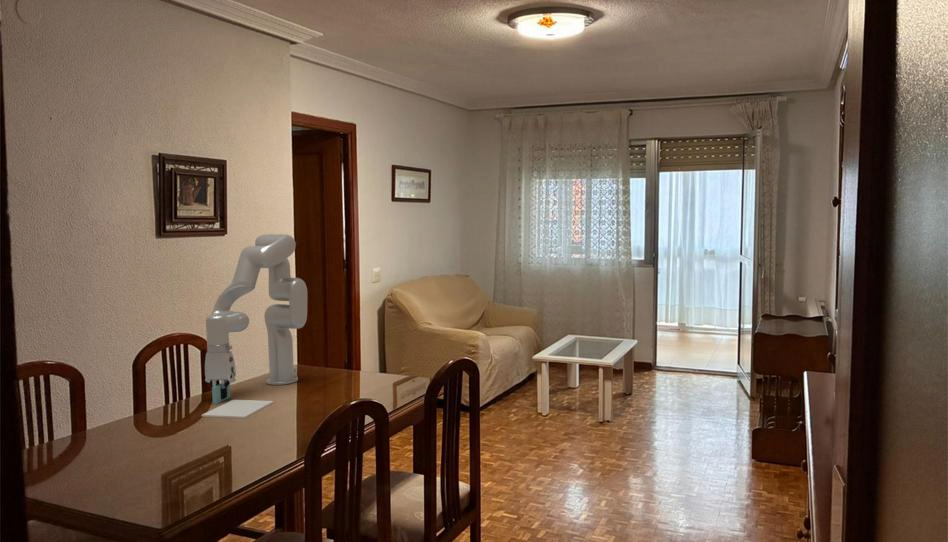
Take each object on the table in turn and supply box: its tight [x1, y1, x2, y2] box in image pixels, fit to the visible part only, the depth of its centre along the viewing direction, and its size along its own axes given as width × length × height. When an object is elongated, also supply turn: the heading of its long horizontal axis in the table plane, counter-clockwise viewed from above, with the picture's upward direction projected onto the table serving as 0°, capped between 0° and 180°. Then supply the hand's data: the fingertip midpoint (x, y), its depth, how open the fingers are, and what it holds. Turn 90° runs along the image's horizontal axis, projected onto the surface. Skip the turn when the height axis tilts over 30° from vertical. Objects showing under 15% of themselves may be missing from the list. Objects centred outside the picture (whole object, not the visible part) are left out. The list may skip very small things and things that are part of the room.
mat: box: [201, 399, 275, 419], centre depth 245 cm, size 20×16×1 cm
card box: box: [211, 383, 231, 405], centre depth 258 cm, size 9×2×6 cm, turn 168°
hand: (221, 398), depth 258 cm, fingers closed on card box, 1 cm apart
